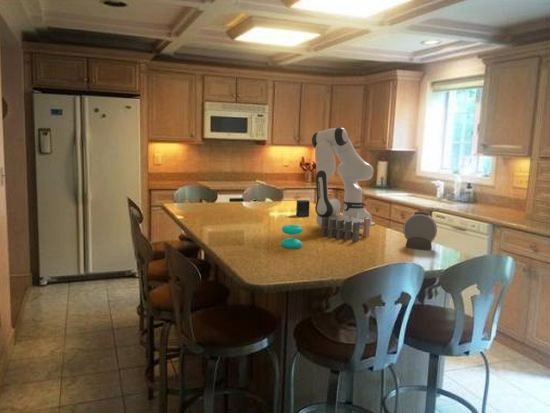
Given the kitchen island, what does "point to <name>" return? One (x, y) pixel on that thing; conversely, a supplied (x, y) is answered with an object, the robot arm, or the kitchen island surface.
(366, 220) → the domino
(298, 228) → the donuts
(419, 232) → the alarm clock
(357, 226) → the domino
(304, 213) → the box
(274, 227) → the kitchen island surface
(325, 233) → the domino
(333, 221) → the domino
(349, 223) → the domino
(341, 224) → the domino
